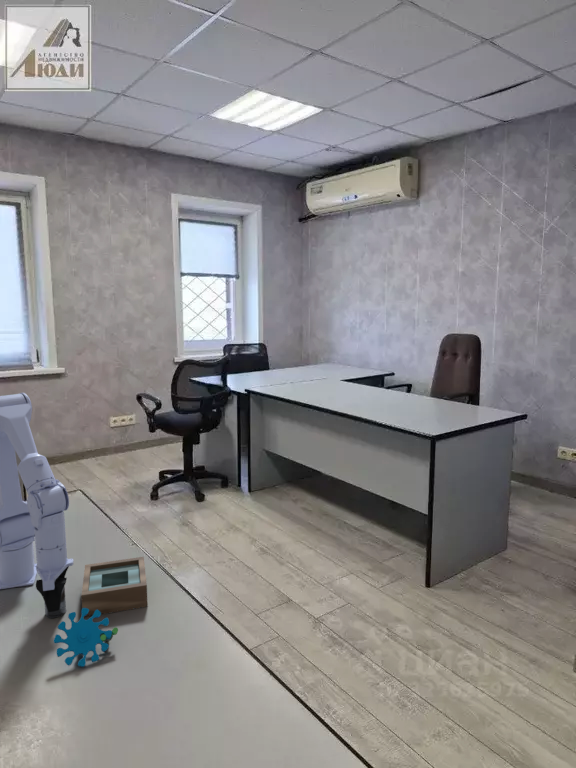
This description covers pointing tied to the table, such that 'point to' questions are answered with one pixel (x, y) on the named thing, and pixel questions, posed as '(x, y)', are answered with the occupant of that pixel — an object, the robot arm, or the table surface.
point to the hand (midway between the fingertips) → (55, 604)
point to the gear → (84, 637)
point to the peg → (62, 607)
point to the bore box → (114, 586)
